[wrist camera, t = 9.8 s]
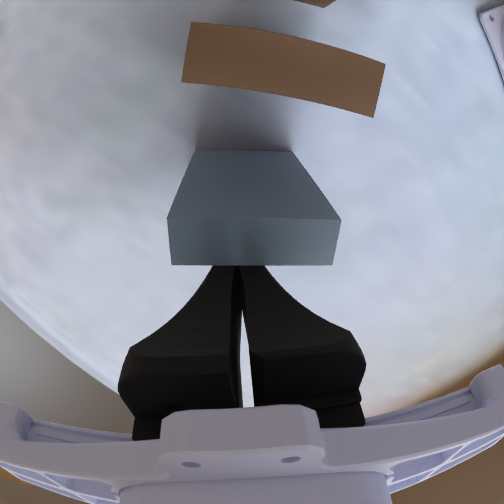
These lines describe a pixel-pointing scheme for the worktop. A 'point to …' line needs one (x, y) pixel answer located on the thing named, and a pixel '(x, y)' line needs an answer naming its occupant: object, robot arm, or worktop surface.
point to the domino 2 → (317, 2)
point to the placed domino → (250, 212)
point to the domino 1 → (282, 66)
